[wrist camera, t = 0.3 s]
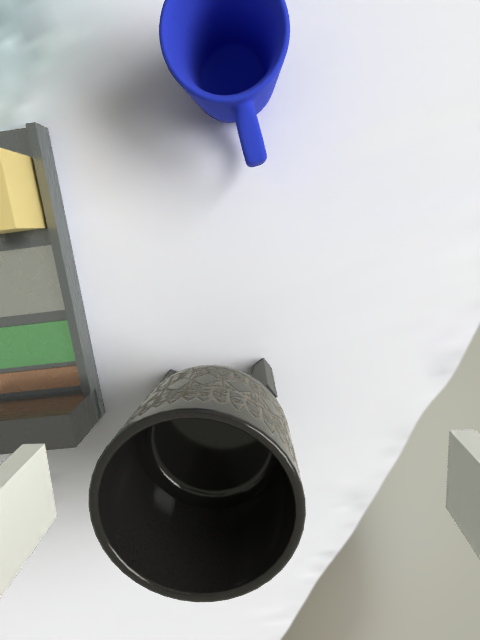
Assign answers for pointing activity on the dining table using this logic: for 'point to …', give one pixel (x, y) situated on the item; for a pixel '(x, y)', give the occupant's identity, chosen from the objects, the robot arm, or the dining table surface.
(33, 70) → the dining table surface
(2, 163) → the block
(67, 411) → the dark grey block
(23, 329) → the tray
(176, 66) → the mug
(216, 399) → the planter
